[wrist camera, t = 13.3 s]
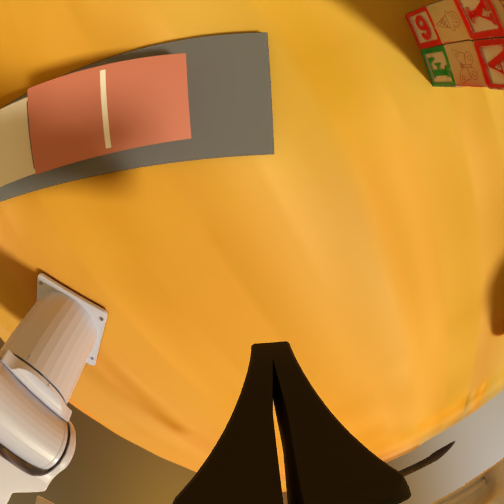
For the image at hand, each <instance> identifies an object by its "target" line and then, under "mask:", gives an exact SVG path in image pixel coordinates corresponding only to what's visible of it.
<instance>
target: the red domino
mask: <svg viewBox="0 0 504 504" xmlns="http://www.w3.org/2000/svg"><path fill="white" fill-rule="evenodd" d="M27 95H28V117H29V129H30V139H31V147H32V154H33V161H34V167H35V173H36V175H37V174H40V173H43V172H46V171H49V170H52V169H55V168H58V167H61V166H64V165H68V164H71V163H75V162H78V161H82V160H85V159H89V158H93V157H97V156H101V155H105V154H109V153H113V152H118V151H122V150H127V149H132V148H137V147H142V146H147V145H152V144H158V143H164V142H170V141H177V140H183V139H190V138H191V127H190V114H189V100H188V84H187V65H186V53H181V54H169V55H160V56H151V57H144V58H138V59H131V60H126V61H120V62H115V63H110V64H106V65H101V66H97V67H93V68H89V69H85V70H81V71H78V72H74V73H71V74H68V75H64V76H61V77H58V78H55V79H52V80H49V81H46V82H44V83H41V84H38V85H36V86H33V87H31V88H28V89H27Z"/></svg>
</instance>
